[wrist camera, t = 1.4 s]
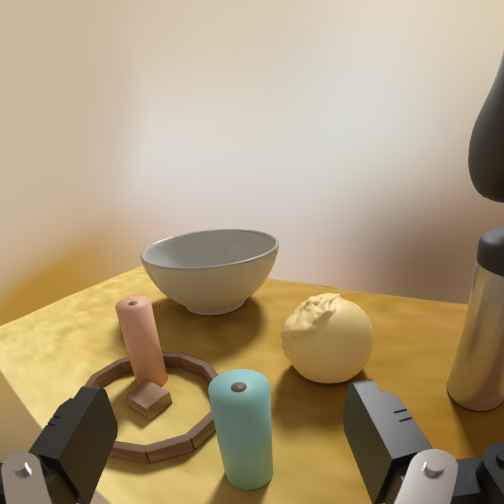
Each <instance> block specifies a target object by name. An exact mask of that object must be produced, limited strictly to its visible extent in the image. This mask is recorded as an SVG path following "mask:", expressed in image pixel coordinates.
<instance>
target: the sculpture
mask: <svg viewBox="0 0 504 504" xmlns="http://www.w3.org/2000/svg"><path fill="white" fill-rule="evenodd" d="M281 338H282V349H283V350H284V355H285V356H286V357H287V358H289V360H290V362H291V363H292V365H293V366H294V368H295V369H296V370H297V371H298V372H299V373H300V374H301V375H302V376H303V377H305V378H307V379H309V380H311V381H314V382H319V383H339V382H344V381H347V380H349V379H351V378H353V377H354V376H356V375H357V374H358V373H359V372H360V371H361V370H362V369H363V367H364V366H365V365H366V363H367V361H368V359H369V357H370V354H371V351H372V346H373V331H372V326H371V323H370V320H369V318H368V317H367V315H366V314H365V312H364V311H363V310H362V309H361V308H360V307H358V306H357V305H356V304H354V303H352V302H350V301H348V300H344V299H342V298H341V296H340V294H332V293H325V294H322V295H318V296H316V297H310V298H308V299H307V300H306V301H305V302H303V303H301V304H300V305H299V306H298V307H297V308H296V310H295V311H294V312H293V314H292V315H291V316H289V318H288V319H287V320H286V322H285V325H284V326H283V329H282V332H281Z"/></svg>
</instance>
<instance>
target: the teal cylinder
mask: <svg viewBox="0 0 504 504" xmlns="http://www.w3.org/2000/svg"><path fill="white" fill-rule="evenodd" d="M208 393H209V398H210V404H211V409H212V414H213V419H214V424H215V428H216V433H217V438H218V443H219V447H220V452H221V456H222V461H223V465H224V469H225V474H226V477H227V480H228V481H229V483H230V484H231V485H233V486H234V487H236V488H238V489H241V490H256V489H259V488H261V487H263V486H265V485H266V484H267V483H268V482H269V481H270V480H271V478H272V475H273V462H272V433H271V406H270V385H269V381H268V380H267V378H266V377H265V376H264V375H262V374H260V373H258V372H256V371H253V370H247V369H236V370H230V371H227V372H224V373H221V374H219V375H218V376H216V377H215V378H214V379H213V380H212V381H211V382H210V384H209V387H208Z"/></svg>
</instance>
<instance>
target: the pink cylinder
mask: <svg viewBox="0 0 504 504" xmlns="http://www.w3.org/2000/svg"><path fill="white" fill-rule="evenodd" d="M116 311H117V315H118V319H119V323H120V327H121V331H122V335H123V338H124V342H125V345H126V349H127V352H128V356H129V359H130V363H131V366H132V369H133V372H134V376H135V379H136V382H137V384H138V386H140V385H142V384H143V383H145V382H146V381H148V380H149V381H150V382H152V383H154V384H156V385H158V386H160V387H161V386H162V385H164V384H165V383H166V382H167V379H168V376H167V372H166V368H165V364H164V360H163V355H162V351H161V347H160V343H159V338H158V334H157V329H156V324H155V320H154V315H153V310H152V305H151V300H150V298H148V297H146V296H132V297H128V298H125V299H122V300H121V301H119V302H118V303H117V304H116Z"/></svg>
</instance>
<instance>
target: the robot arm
mask: <svg viewBox="0 0 504 504" xmlns="http://www.w3.org/2000/svg"><path fill="white" fill-rule="evenodd" d="M468 164H469V172H470V176H471V180H472V182H473V184H474V186H475V188H476V190H477V191H478V192H479V193H480V194H481V195H482V196H483V197H486V198H488V199H490V200H493V201H496V202H504V53H503V56H502V60H501V64H500V67H499V70H498V73H497V76H496V78H495V81H494V83H493V86H492V88H491V90H490V92H489V94H488V97H487V99H486V101H485V103H484V105H483V107H482V109H481V111H480V113H479V115H478V118H477V120H476V122H475V126H474V128H473V132H472V136H471V140H470V146H469V159H468ZM447 389H448V392H449V394H450V396H451V397H452V399H453V400H454V401H455V402H456V403H458V404H459V405H461V406H463V407H464V408H467V409H470V410H474V411H488V410H491V409H494V408H496V407H498V406H499V405H500V404H501V403H502V402H503V400H504V226H503V227H500V228H497V229H494V230H491V231H488V232H486V233H485V234H483V235H482V236H481V238H480V240H479V244H478V250H477V259H476V266H475V272H474V278H473V284H472V290H471V295H470V300H469V305H468V310H467V314H466V318H465V323H464V327H463V331H462V335H461V339H460V342H459V346H458V350H457V353H456V357H455V360H454V363H453V366H452V369H451V373H450V376H449V379H448V382H447ZM343 425H344V431H345V434H346V437H347V440H348V442H349V445H350V447H351V450H352V452H353V455H354V457H355V460H356V463H357V465H358V468H359V470H360V473H361V475H362V478H363V481H364V483H365V486H366V488H367V491H368V494H369V496H370V499H371V502H372V504H382V503H385V504H504V442H496V443H493V444H491V445H490V446H488V447H487V449H486V450H485V451H484V453H483V455H482V457H476V458H468V459H458V460H456V459H455V458H454V457H453V456H452V455H451V454H449V453H448V452H445V451H443V450H438V449H433V448H432V446H431V444H430V443H429V441H428V440H427V438H426V437H425V435H424V434H423V432H422V431H421V429H420V428H419V426H418V425H417V423H416V422H415V420H414V419H412V416H411V414H410V413H409V411H407V408H406V407H405V405H404V404H403V403H402V401H401V400H400V398H398V397H397V396H395V395H394V394H392V393H391V392H389V391H385V392H381V391H380V389H379V388H378V386H377V385H376V383H375V381H374V380H373V379H368V380H362V381H356V382H350V383H349V385H348V390H347V397H346V404H345V411H344V417H343ZM117 432H118V427H117V421H116V418H115V416H114V413H113V410H112V407H111V404H110V401H109V398H108V395H107V392H106V391H105V389H103V388H97V387H88V386H83V387H81V388H80V390H79V391H78V393H77V394H76V396H75V397H74V399H72V398H70V399H69V400H67V401H66V402H64V403H63V404H62V405H60V406H59V407H58V409H57V410H56V412H55V413H54V415H53V417H52V418H51V419H50V420H49V422H48V425H46V426H45V428H44V429H43V431H42V432H41V434H40V436H39V437H38V438H37V440H36V441H35V443H34V444H33V446H32V447H31V449H30V450H29V452H19V453H15V454H12V455H11V456H9V457H8V458H7V459H6V460H5V461H4V463H0V504H76V503H78V504H90V502H91V499H92V497H93V494H94V492H95V489H96V487H97V484H98V482H99V479H100V477H101V474H102V472H103V469H104V467H105V464H106V462H107V459H108V457H109V455H110V452H111V450H112V447H113V445H114V443H115V440H116V438H117Z"/></svg>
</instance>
